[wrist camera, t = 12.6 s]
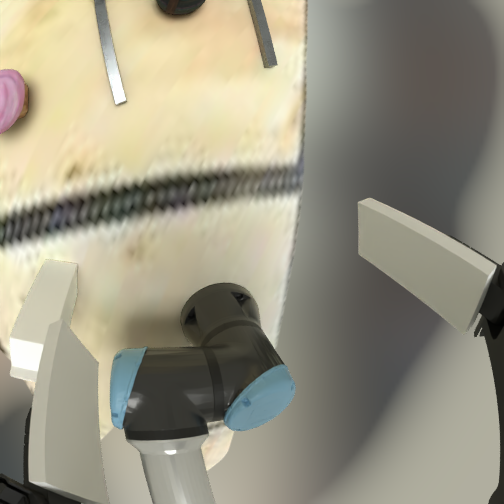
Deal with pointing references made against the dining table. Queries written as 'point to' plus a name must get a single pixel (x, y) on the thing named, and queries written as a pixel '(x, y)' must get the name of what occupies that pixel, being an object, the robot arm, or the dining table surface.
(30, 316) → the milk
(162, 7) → the mate gourd
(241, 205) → the dining table surface
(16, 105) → the cupcake
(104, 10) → the u-shaped bar frame
